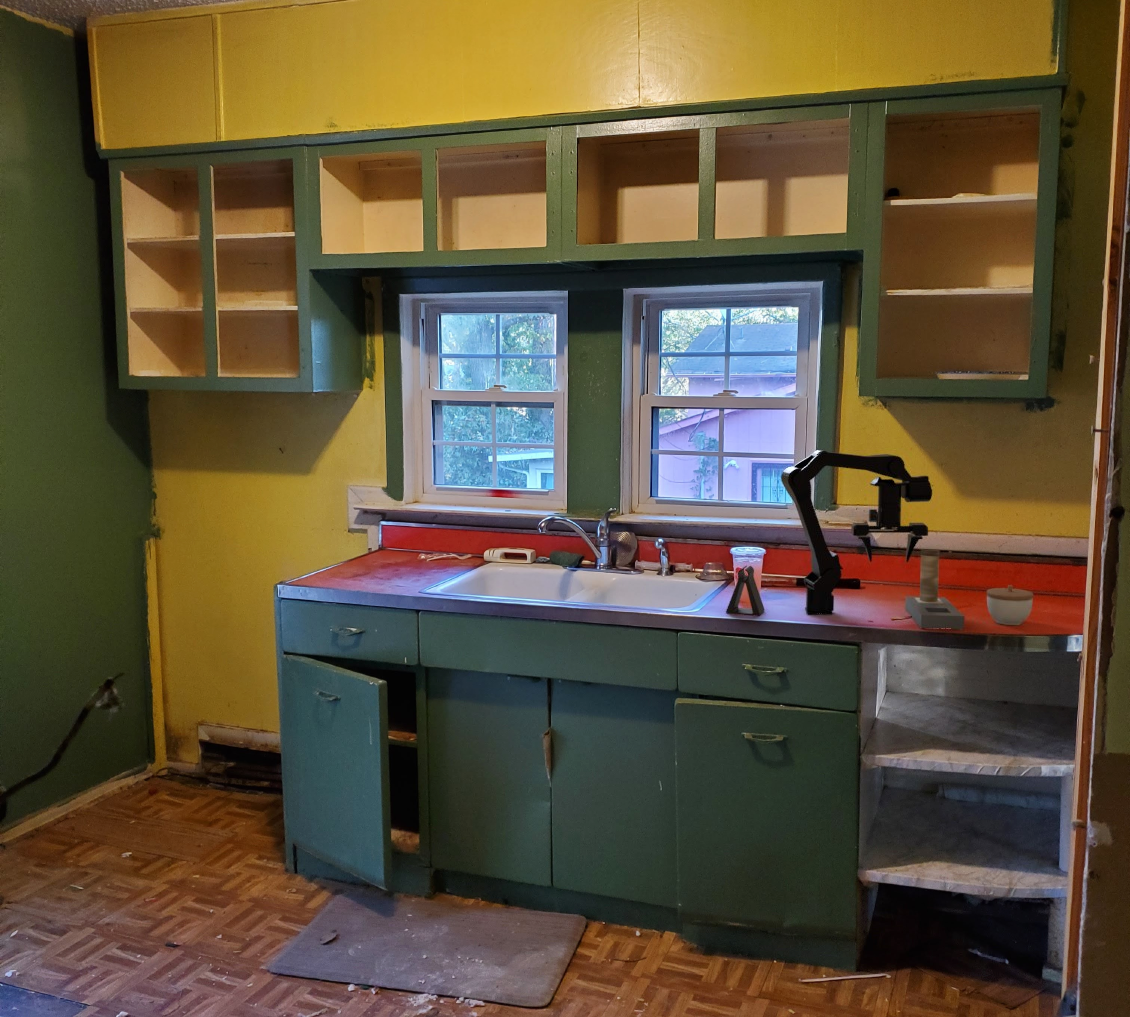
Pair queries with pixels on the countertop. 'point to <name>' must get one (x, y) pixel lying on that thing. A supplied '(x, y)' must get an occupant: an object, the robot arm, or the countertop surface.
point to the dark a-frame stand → (752, 592)
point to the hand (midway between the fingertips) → (888, 561)
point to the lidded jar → (1009, 605)
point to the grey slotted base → (934, 613)
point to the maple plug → (929, 575)
